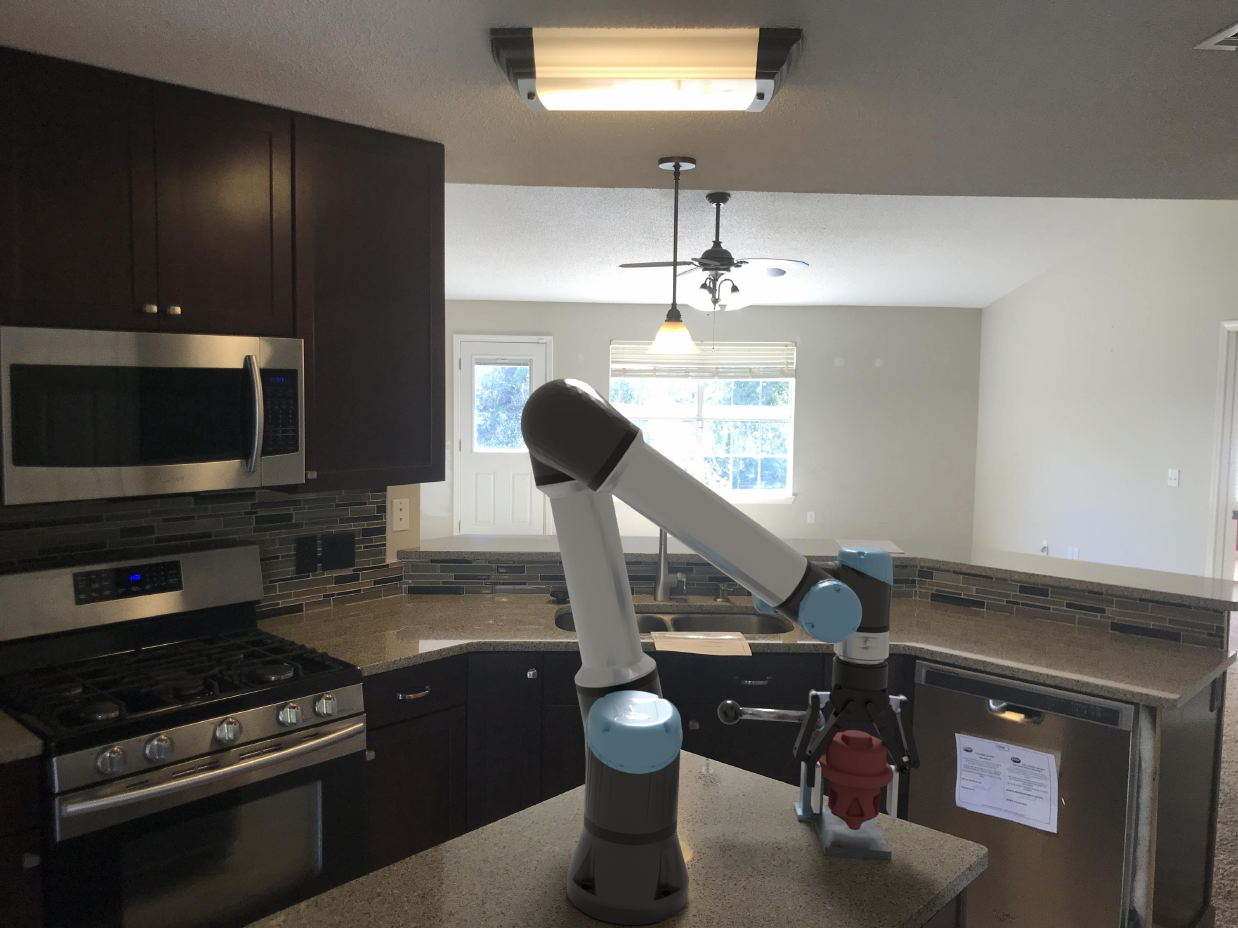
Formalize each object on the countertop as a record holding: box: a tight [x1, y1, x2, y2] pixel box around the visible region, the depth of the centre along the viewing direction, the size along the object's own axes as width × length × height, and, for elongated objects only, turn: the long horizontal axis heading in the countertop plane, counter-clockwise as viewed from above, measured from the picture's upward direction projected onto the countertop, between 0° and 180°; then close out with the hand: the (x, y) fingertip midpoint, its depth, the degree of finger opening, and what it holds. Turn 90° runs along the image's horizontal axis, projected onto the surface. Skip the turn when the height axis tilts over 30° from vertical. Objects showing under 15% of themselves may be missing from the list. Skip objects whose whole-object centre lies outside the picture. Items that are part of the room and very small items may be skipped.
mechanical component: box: [819, 729, 892, 830], centre depth 120 cm, size 12×10×10 cm
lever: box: [717, 699, 826, 729], centre depth 128 cm, size 16×4×4 cm, turn 86°
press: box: [793, 725, 893, 861], centre depth 123 cm, size 11×15×14 cm
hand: (853, 811), depth 120 cm, fingers closed on mechanical component, 10 cm apart
